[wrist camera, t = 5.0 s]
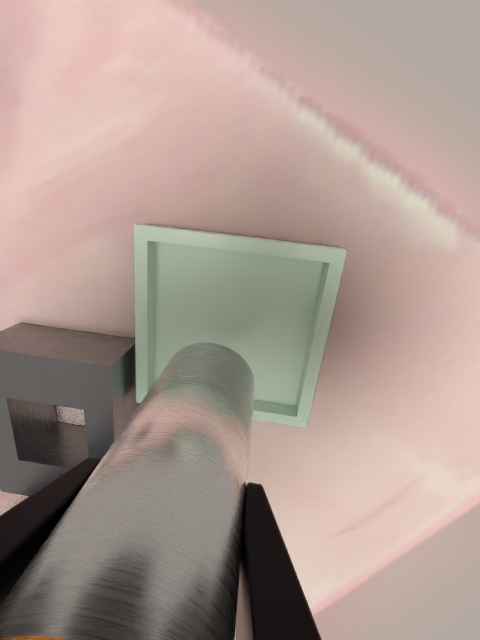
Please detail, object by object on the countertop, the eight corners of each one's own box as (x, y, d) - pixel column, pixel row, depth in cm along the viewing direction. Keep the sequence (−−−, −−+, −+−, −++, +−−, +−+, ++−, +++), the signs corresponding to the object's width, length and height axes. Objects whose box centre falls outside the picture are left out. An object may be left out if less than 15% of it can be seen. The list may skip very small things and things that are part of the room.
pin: (262, 352, 12) (240, 849, 3) (246, 429, 13) (193, 937, 4) (168, 334, 12) (-186, 744, 3) (162, 412, 13) (-86, 864, 4)
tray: (303, 411, 21) (306, 428, 20) (146, 388, 22) (136, 402, 20) (339, 247, 17) (347, 250, 16) (146, 224, 18) (133, 224, 16)
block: (140, 466, 25) (117, 511, 21) (40, 450, 25) (0, 491, 21) (139, 339, 21) (110, 366, 17) (20, 322, 21) (-34, 345, 17)
